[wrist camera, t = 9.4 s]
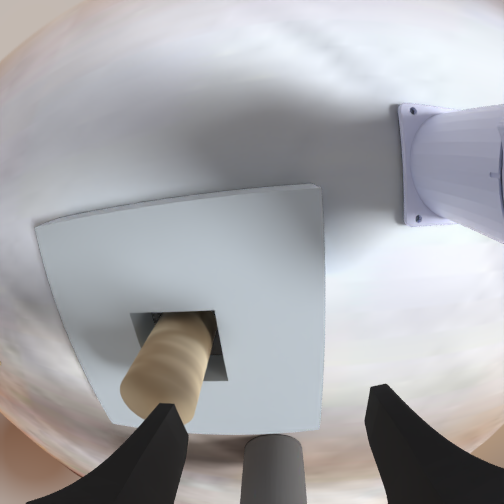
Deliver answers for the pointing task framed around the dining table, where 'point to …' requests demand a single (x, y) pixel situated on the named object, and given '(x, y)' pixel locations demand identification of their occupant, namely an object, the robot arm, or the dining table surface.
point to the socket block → (202, 298)
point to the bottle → (273, 471)
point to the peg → (171, 364)
